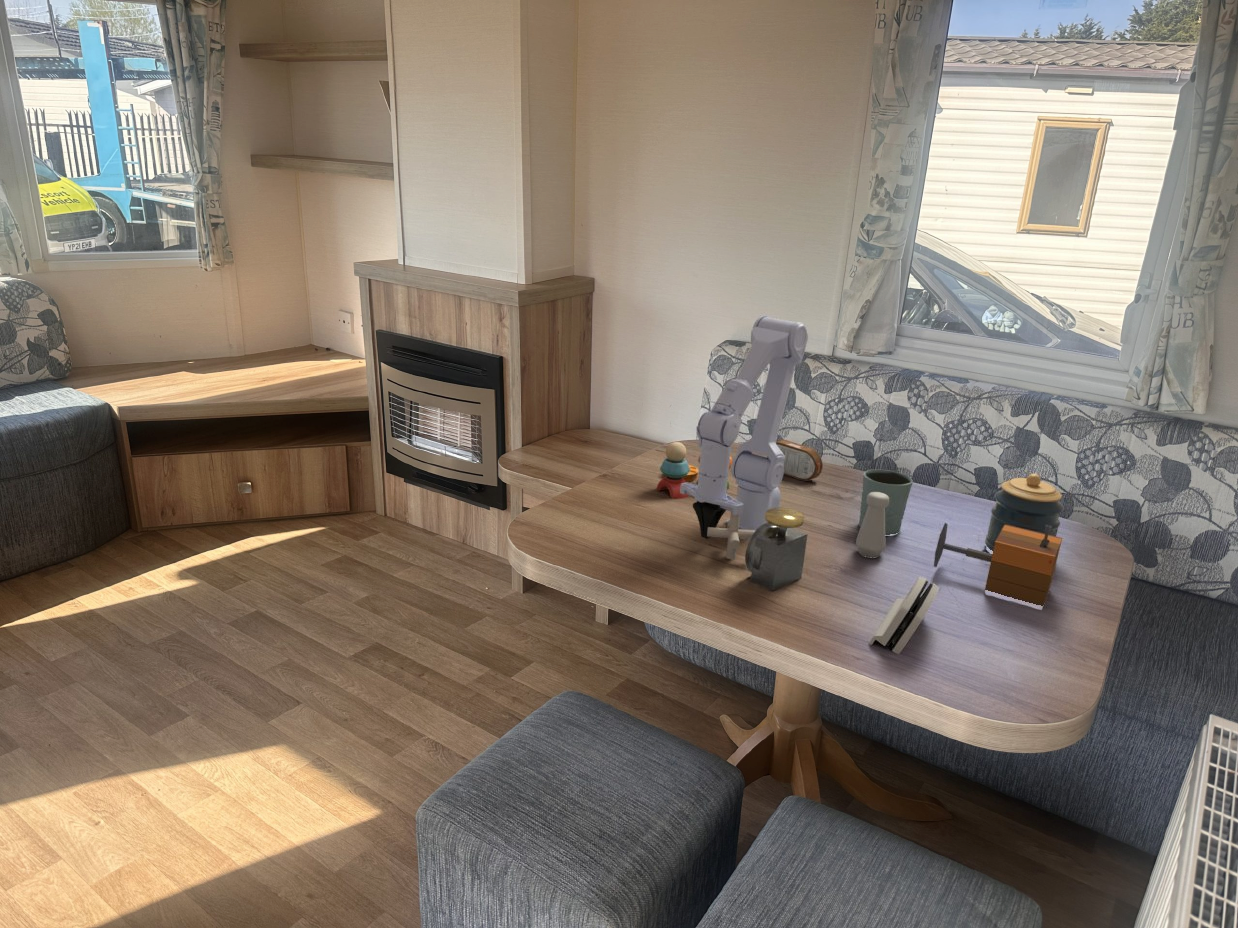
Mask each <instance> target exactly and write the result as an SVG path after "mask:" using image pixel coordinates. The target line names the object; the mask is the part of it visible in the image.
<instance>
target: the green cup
mask: <svg viewBox="0 0 1238 928" xmlns="http://www.w3.org/2000/svg"><path fill="white" fill-rule="evenodd" d="M912 486H913V479H912V478H911V477H910V476H909V475H907V474H904V473H903V472H902V473H901V472H898V471H893V470H889V469H868V470H866V471H864V472H863V475H862V491H861V493H862V494H861V497H860V499H861V502H860V514H859V519H858V521H859V522H858V525H859V526H858V527H859V528H860V527H861V525H862V522H863V520H864V517H865V514H866V511H867V508H868V506H869V505H868V504H867V496H868V494H870V493H871V492H880V493H884V494H886V495H887V496H888V497H889V505H888V507H886V508H885V535H890V534H896V533H898V532H899V533H900V531H901V527H902V521H903V519H904V515H905V511H906V508H907V503H908V499H909V495H910V493H911V490H912V489H911V488H912ZM899 533H898V534H899Z"/></svg>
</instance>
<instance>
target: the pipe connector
mask: <svg viewBox="0 0 1238 928" xmlns="http://www.w3.org/2000/svg"><path fill="white" fill-rule="evenodd" d="M732 512H733V511H732ZM732 512H731V511H730V518H729V519H730V521H728V523H726V525H727V527H726V528H724V527H716V528H713V527H708V530H707V536H708V537H711V538H713V537H714V538H724V539H725V538H726V539H727V544H726V545H727V546H726V555H725V559H728V560H735V559H736V556H737V549H738V548H740V547H741V543H740V540H750V539H751V537H752V535H753V534H754V532H755V531H754V530H742V529H740V528H739V521H740V514H739V515H734V514H732Z"/></svg>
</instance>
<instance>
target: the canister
mask: <svg viewBox="0 0 1238 928" xmlns="http://www.w3.org/2000/svg"><path fill="white" fill-rule="evenodd" d="M1041 479H1042V478H1041V477H1040V475H1039V474H1037V473H1030V474H1029V475H1027V476H1026V477H1014V478H1012V479H1010V480H1006V481H1004V482H1002V483H1001V485H1000V487H1001V490H998V491H996V492H995V494H994V499H995V500H996V501H995V504H994V506H993V507H992V508H991V510H990V511H991V513H990V514H991V516H990V519H989V520H990V521H989V524H988V529H987V534H986V535H985V539H984V544H986V546H987V547H988V548H989V549H990V550H992V551H993V550H994V545H995V541H996V539H997V538H998V536H999V534H1000V532H1001V531H1002V529H1003V527H1004V525H1005V524H1006V525H1010V526H1014V527H1019V528H1023V529H1027V530H1031V531H1035V532H1040V533H1044V534H1045V527H1046V525H1050V526H1052V527H1051V531H1050V532H1049V534H1048V535H1052V536H1056V537H1057V534H1058V529H1059V527H1060V525H1061V521H1060V520H1059V519H1060V517H1059V516H1060V514H1061V513H1063V511H1064V509H1065V508H1064V507H1065V506H1064V505H1063V504H1062V503H1061V502H1060V500H1061V499H1062V498H1063V494H1062V493H1060V491H1059V490H1057V489H1056V488H1055V486H1053V485H1051V484H1050V483H1048V482H1045V481H1042V480H1041Z"/></svg>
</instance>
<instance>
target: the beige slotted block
mask: <svg viewBox="0 0 1238 928" xmlns="http://www.w3.org/2000/svg"><path fill="white" fill-rule="evenodd" d="M928 583H929V581H928V579H927V578H926V577H923V576H920V575H919V577H918V578H917V579H916V581H915V583H914V584H913V586H912V587H911V588H910V590H909V592H908V593H907V595H906V596H905V597H900V598H896V599H895V601H894V602H893V604H892V605H891V607H890V608H889V610H888V611H887V613H886V615H885V616H886V617H885V616H884V618H883V620H882V621H881V623H880V625H879V626H878V628H877V630H876V631H875V633H874V634H873V636H872V638H871V639H870V641H869V642H868V645H870V646H873V644H874V642H875V641H877V642H879V643H880V644H881V645H883V646H884V647H885V646H887V647H889V646H890V644H891V643H892V644H891V647H890V649H892V650H891V652H893V653H895V654H896V655H900V654H901V652H902V651H903V649H904V648H905V647H906V645H907V644H908V642H909V640H910V639H911V638H912V636H913V635H914V633H915V632H916V631H917V630H918V629H917V628H918V627H919V625H920V624H921V623H922V621H923V620H924V618H925V616H926V615H927V612H929V609H930V608H931V606H932V604H933V602H934V600H935V599H936V596H937V594H938V593H939V590H940V587H938V586H937V585H936V584H935V583H934V582H933V583H931V582H930V583H929V584H928ZM927 585H928V586H927ZM900 629H901V630H900Z"/></svg>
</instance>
